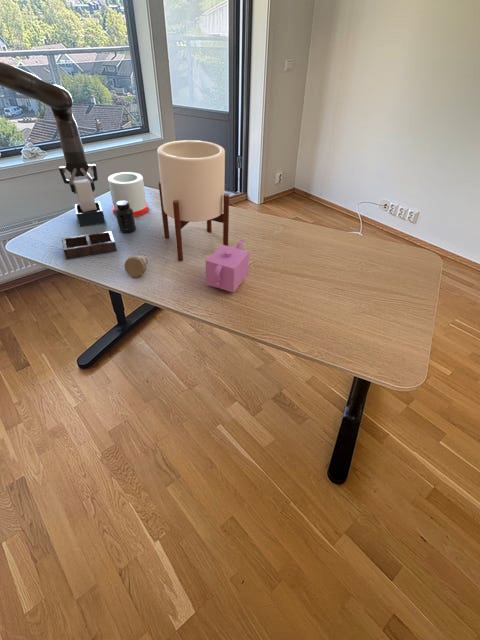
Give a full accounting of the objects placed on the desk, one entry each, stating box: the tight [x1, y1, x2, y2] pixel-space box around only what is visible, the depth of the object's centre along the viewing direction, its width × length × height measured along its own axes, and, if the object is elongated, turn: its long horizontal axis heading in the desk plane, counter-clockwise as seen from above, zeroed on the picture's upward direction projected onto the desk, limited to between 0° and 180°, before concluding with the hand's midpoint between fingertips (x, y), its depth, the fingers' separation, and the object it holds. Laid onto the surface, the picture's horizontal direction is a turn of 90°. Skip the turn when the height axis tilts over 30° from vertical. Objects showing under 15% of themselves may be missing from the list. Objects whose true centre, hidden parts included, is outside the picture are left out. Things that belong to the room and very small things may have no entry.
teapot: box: [205, 239, 250, 293], centre depth 117 cm, size 20×10×12 cm, turn 155°
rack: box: [61, 230, 118, 261], centre depth 131 cm, size 18×10×4 cm, turn 114°
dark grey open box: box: [74, 201, 106, 227], centre depth 149 cm, size 10×10×6 cm
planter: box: [157, 139, 230, 262], centre depth 127 cm, size 22×22×36 cm
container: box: [107, 171, 149, 218], centre depth 156 cm, size 16×16×15 cm
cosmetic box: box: [73, 178, 97, 212], centre depth 144 cm, size 6×4×12 cm
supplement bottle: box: [115, 201, 137, 235], centre depth 141 cm, size 7×7×12 cm
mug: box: [123, 255, 149, 278], centre depth 121 cm, size 8×10×10 cm
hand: (83, 191), depth 143 cm, fingers closed on cosmetic box, 6 cm apart
